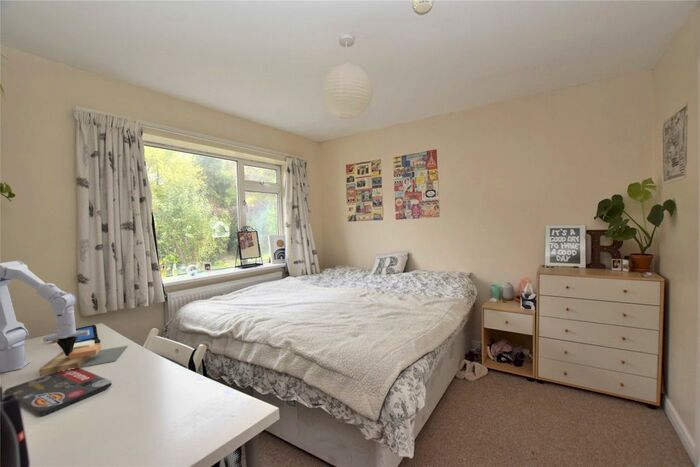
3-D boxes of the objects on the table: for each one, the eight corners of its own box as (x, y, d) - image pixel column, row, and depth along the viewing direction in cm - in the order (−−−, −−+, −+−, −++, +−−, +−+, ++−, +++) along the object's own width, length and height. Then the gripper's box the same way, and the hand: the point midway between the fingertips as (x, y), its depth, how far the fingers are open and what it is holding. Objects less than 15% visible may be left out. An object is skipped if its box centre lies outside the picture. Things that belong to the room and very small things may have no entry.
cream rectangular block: (63, 353, 133) (63, 348, 133) (70, 348, 138) (69, 343, 138) (89, 349, 136) (88, 344, 136) (94, 344, 142) (94, 340, 141)
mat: (79, 367, 124) (79, 367, 124) (96, 351, 139) (96, 350, 139) (115, 361, 128) (115, 360, 128) (127, 346, 144) (127, 345, 144)
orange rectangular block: (69, 359, 126) (68, 354, 126) (75, 353, 132) (75, 349, 132) (96, 354, 130) (95, 349, 130) (101, 349, 135) (100, 344, 135)
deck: (39, 375, 118) (39, 369, 118) (67, 353, 139) (66, 348, 139) (78, 368, 123) (78, 362, 123) (99, 348, 143) (99, 342, 143)
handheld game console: (66, 352, 141) (64, 336, 141) (63, 346, 148) (62, 331, 148) (101, 343, 150) (99, 328, 150) (97, 338, 158) (95, 323, 157)
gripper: (37, 329, 122) (41, 362, 122) (83, 323, 127) (86, 355, 128) (47, 324, 128) (50, 355, 129) (90, 318, 133) (93, 348, 134)
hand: (68, 355), depth 129 cm, fingers closed
